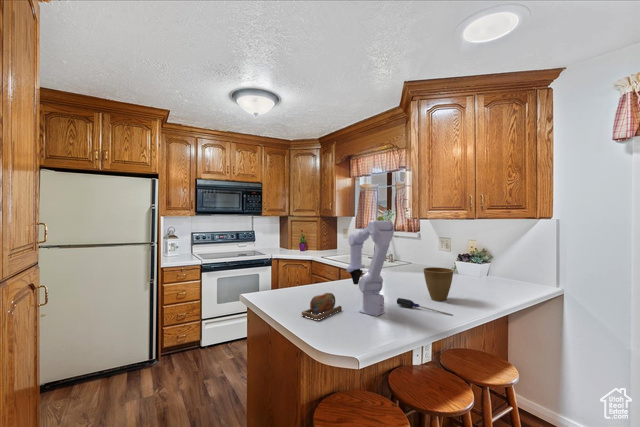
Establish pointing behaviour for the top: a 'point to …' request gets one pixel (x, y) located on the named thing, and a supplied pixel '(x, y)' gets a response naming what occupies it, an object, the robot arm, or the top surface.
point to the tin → (322, 303)
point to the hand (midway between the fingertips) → (355, 284)
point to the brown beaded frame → (308, 313)
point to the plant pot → (438, 282)
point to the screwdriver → (414, 305)
